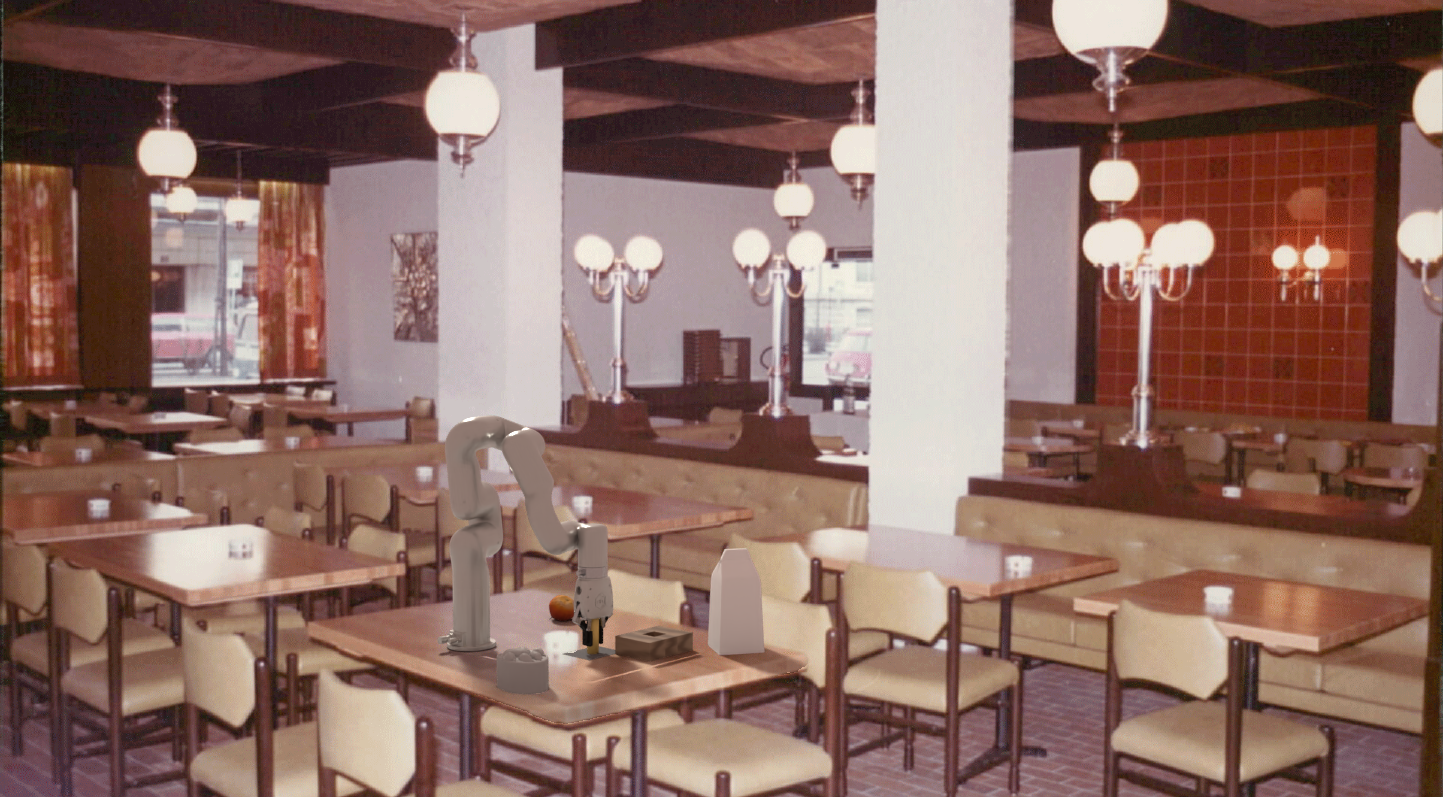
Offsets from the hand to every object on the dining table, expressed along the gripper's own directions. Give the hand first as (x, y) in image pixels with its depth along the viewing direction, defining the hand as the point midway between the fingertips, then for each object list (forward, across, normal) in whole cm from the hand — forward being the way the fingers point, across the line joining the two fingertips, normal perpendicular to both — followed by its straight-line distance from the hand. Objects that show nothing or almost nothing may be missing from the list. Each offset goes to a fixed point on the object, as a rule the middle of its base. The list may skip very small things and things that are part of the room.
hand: (592, 643), depth 332 cm
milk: (+3, +29, -23) cm, 37 cm away
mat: (+3, 0, 0) cm, 3 cm away
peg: (+2, 0, 0) cm, 2 cm away
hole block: (+3, +11, -11) cm, 16 cm away
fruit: (+3, +23, +37) cm, 44 cm away
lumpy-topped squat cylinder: (+3, -32, -12) cm, 35 cm away
